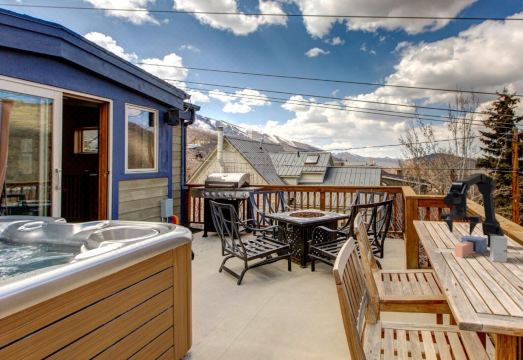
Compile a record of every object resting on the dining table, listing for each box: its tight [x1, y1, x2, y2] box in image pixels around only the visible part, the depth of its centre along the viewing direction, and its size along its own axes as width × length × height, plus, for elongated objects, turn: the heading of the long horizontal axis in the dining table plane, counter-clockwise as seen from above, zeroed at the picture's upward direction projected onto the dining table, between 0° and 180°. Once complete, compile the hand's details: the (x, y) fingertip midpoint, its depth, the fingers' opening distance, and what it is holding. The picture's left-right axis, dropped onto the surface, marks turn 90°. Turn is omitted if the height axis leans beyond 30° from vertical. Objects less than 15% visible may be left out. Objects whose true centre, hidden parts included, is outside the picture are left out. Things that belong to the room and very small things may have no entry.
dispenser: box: [460, 234, 488, 255], centre depth 178 cm, size 7×10×8 cm
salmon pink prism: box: [454, 241, 474, 259], centre depth 171 cm, size 13×4×6 cm, turn 126°
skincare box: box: [489, 235, 508, 263], centre depth 160 cm, size 6×4×12 cm
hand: (460, 233), depth 171 cm, fingers open, 9 cm apart
